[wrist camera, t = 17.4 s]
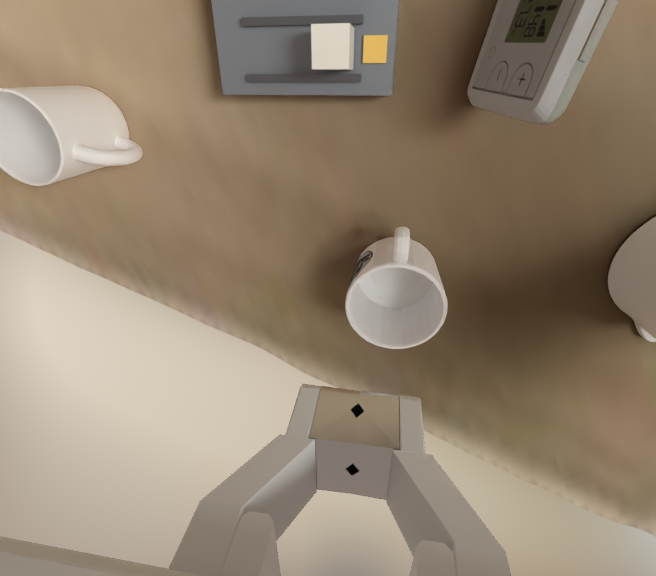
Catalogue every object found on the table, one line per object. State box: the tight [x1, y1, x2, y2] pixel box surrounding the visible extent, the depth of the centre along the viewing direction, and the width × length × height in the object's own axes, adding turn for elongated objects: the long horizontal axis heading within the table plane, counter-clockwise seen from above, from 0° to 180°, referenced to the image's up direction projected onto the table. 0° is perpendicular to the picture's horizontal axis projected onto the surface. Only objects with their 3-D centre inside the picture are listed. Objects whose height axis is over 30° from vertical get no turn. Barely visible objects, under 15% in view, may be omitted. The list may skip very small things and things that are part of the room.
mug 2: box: [345, 226, 448, 349], centre depth 41 cm, size 13×10×8 cm
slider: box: [311, 23, 354, 70], centre depth 30 cm, size 3×3×4 cm
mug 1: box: [0, 86, 143, 186], centre depth 38 cm, size 12×8×10 cm
